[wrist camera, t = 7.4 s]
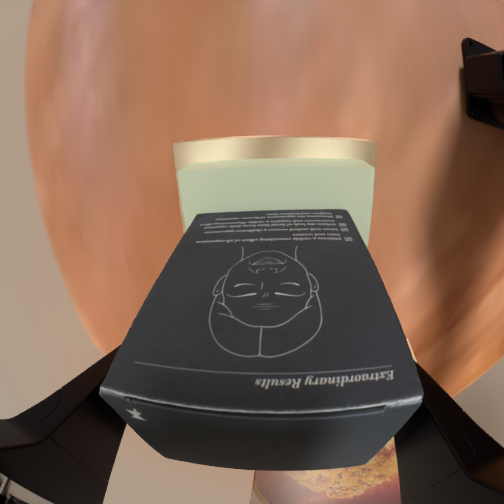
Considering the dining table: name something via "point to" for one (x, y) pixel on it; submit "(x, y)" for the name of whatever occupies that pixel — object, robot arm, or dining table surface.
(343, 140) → the lower slab
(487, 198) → the dining table surface
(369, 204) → the upper slab
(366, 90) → the dining table surface
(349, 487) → the coffeecake box
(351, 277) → the box
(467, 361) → the dining table surface
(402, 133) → the dining table surface
